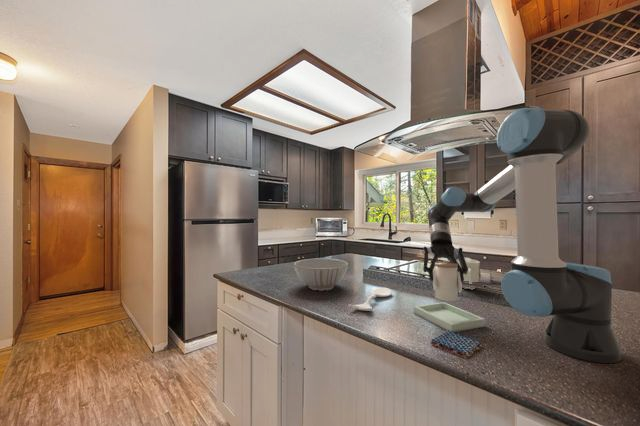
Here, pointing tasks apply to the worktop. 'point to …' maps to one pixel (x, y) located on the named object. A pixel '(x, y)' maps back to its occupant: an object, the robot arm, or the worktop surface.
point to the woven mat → (456, 343)
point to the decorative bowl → (321, 272)
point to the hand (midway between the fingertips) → (447, 289)
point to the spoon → (375, 293)
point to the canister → (446, 280)
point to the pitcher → (471, 270)
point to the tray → (449, 317)
